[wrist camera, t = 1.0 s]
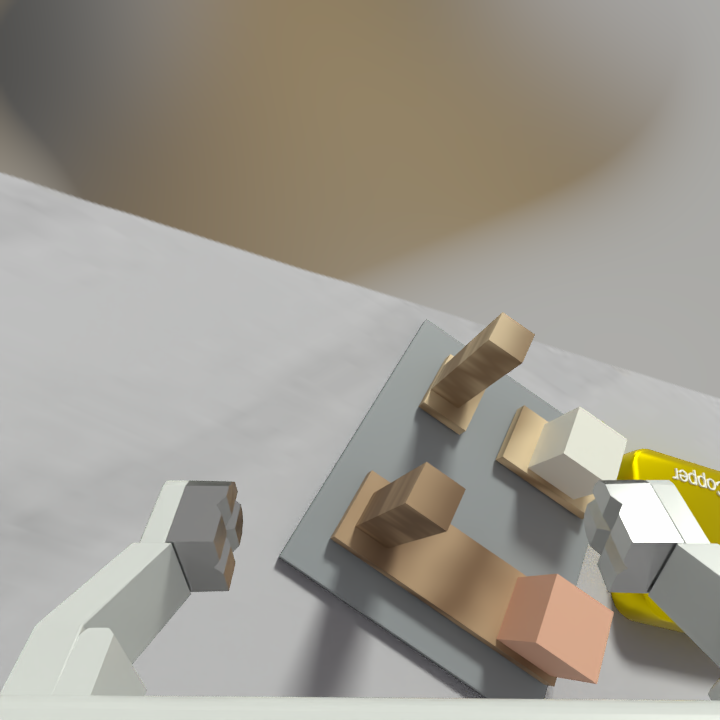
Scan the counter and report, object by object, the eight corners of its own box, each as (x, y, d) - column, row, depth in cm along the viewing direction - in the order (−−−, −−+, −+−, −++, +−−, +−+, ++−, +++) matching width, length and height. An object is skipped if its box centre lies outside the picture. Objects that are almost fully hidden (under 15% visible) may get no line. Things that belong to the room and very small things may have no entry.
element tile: (718, 490, 56) (761, 480, 52) (743, 647, 49) (796, 650, 44) (599, 454, 53) (635, 441, 49) (608, 615, 46) (651, 616, 42)
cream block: (527, 467, 46) (563, 453, 42) (544, 424, 49) (579, 406, 44) (573, 499, 46) (614, 488, 42) (587, 454, 49) (627, 439, 45)
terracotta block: (496, 638, 39) (536, 642, 35) (517, 577, 42) (557, 573, 37) (550, 676, 39) (596, 684, 35) (568, 612, 42) (613, 612, 37)
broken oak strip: (418, 406, 47) (481, 353, 37) (444, 359, 50) (509, 299, 40) (581, 519, 47) (685, 495, 37) (597, 465, 50) (697, 430, 41)
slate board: (278, 557, 39) (280, 555, 38) (423, 322, 52) (426, 319, 52) (529, 727, 39) (535, 729, 39) (609, 451, 53) (614, 449, 52)
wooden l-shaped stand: (330, 538, 40) (379, 515, 30) (367, 473, 43) (423, 433, 33) (544, 684, 40) (661, 708, 30) (565, 609, 43) (678, 609, 33)
